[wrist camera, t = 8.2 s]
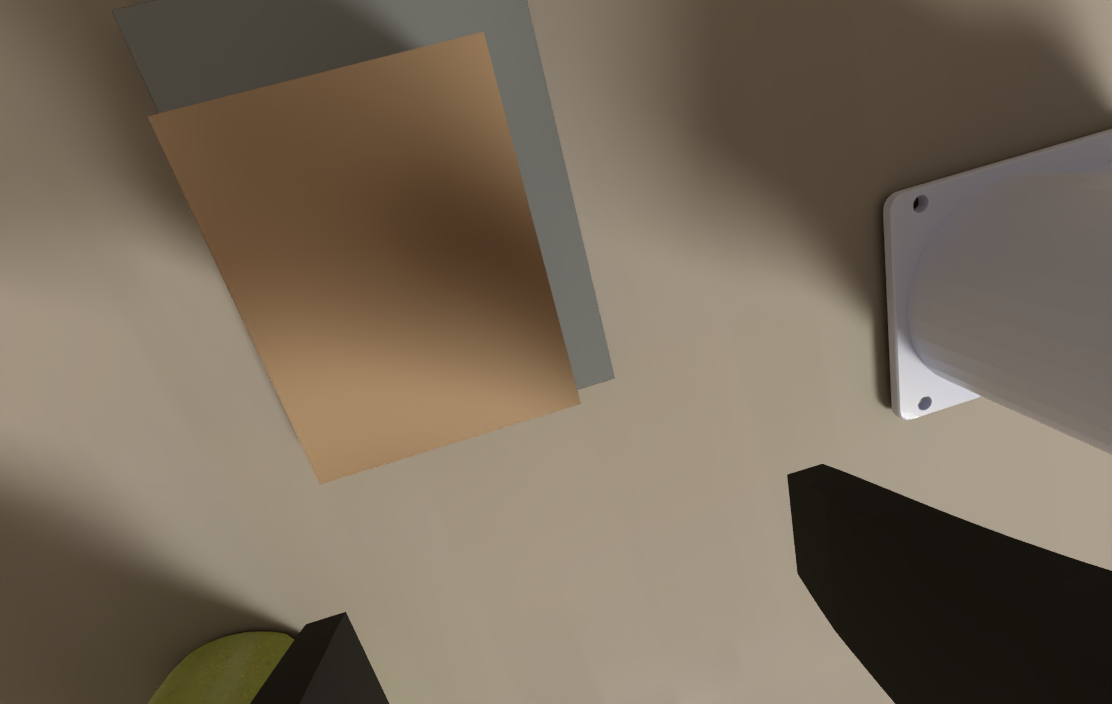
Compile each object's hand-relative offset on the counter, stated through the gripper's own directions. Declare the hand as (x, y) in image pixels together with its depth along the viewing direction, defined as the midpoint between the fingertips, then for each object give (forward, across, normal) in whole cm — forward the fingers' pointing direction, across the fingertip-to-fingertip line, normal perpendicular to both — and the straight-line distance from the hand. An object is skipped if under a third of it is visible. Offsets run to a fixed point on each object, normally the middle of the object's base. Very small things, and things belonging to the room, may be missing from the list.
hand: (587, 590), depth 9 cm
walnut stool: (+8, +2, -5) cm, 10 cm away
